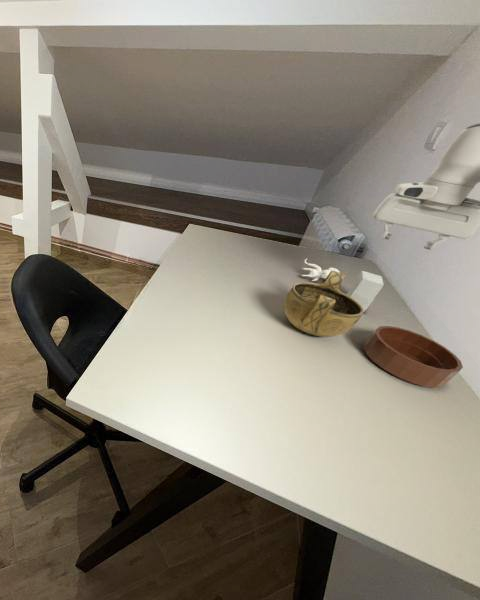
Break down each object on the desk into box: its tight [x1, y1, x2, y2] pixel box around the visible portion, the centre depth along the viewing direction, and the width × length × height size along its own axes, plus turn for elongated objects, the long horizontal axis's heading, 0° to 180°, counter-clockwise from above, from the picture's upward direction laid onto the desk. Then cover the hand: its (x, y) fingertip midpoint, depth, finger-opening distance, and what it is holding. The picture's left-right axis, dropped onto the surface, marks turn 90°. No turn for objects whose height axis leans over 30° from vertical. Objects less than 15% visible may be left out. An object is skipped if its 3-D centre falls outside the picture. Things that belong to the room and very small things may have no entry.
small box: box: [345, 270, 384, 313], centre depth 102 cm, size 8×6×10 cm
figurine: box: [300, 258, 341, 282], centre depth 117 cm, size 8×9×12 cm
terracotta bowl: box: [362, 325, 464, 389], centre depth 79 cm, size 17×17×6 cm
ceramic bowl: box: [283, 271, 364, 338], centre depth 87 cm, size 22×17×15 cm
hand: (405, 243), depth 87 cm, fingers open, 8 cm apart
